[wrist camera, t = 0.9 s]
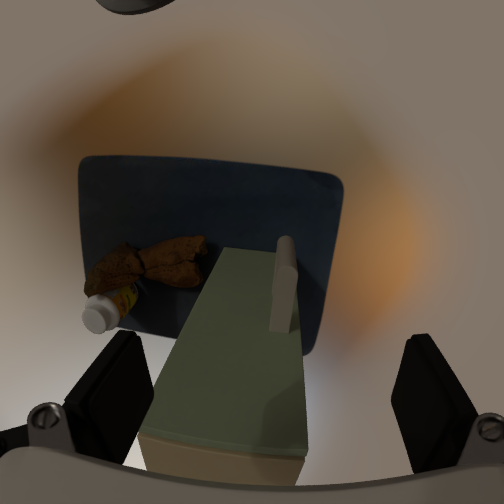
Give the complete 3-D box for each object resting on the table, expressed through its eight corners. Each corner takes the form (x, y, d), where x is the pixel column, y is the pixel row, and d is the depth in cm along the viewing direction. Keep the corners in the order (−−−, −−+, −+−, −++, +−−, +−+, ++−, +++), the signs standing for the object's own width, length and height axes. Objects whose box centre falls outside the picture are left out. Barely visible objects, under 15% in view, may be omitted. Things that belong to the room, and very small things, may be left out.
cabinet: (224, 253, 45) (136, 436, 15) (292, 260, 44) (305, 461, 14) (221, 304, 47) (154, 494, 18) (284, 311, 47) (282, 514, 17)
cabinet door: (227, 205, 42) (118, 341, 13) (298, 212, 42) (336, 371, 12) (224, 251, 44) (136, 431, 15) (292, 259, 44) (306, 457, 15)
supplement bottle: (136, 310, 49) (109, 345, 39) (107, 297, 49) (76, 329, 39) (142, 281, 47) (113, 313, 38) (111, 268, 47) (77, 297, 37)
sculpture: (73, 261, 34) (190, 286, 35) (109, 216, 43) (210, 233, 43) (86, 307, 39) (190, 332, 39) (115, 260, 48) (206, 278, 48)
